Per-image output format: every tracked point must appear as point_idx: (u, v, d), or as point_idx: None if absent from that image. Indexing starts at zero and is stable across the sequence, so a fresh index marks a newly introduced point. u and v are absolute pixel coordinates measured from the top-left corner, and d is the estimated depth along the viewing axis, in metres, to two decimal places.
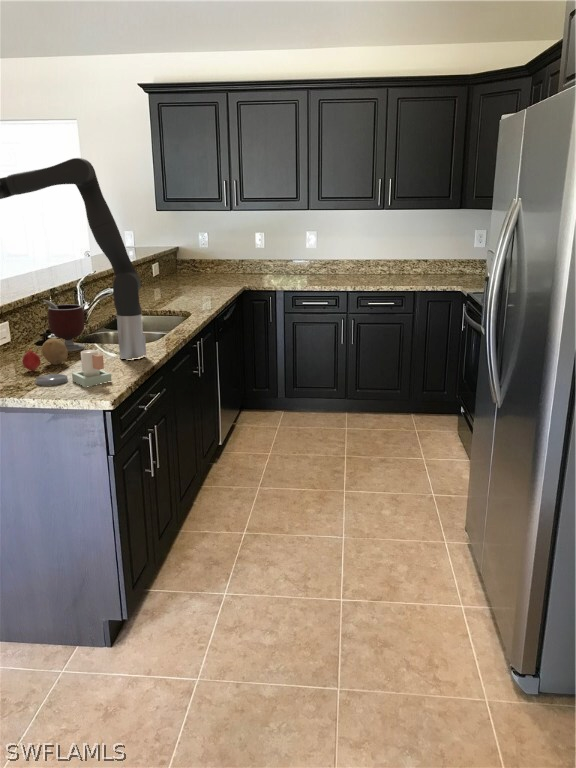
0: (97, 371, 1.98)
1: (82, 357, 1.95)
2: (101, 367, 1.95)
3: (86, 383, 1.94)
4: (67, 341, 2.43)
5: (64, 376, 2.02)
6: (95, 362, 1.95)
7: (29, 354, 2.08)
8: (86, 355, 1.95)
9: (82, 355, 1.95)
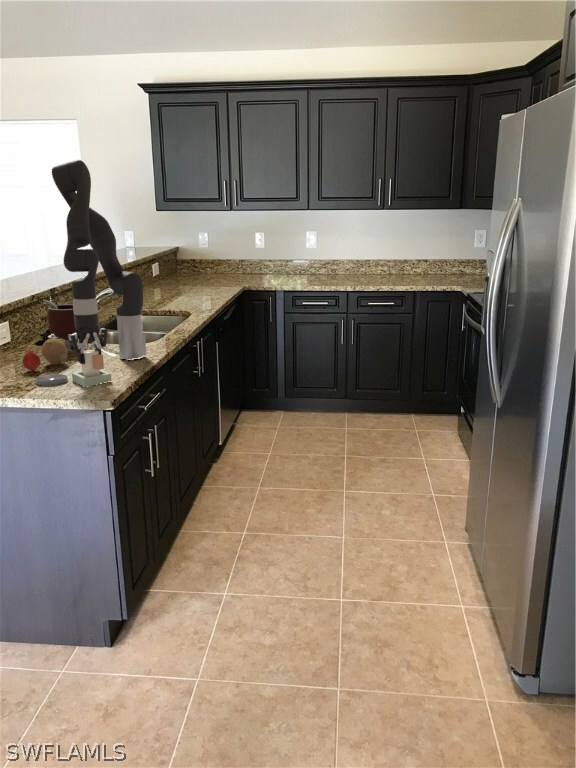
0: (97, 371, 1.98)
1: None
2: (101, 367, 1.95)
3: (86, 383, 1.94)
4: (67, 341, 2.43)
5: (64, 376, 2.02)
6: (95, 362, 1.95)
7: (29, 354, 2.08)
8: (86, 355, 1.95)
9: None
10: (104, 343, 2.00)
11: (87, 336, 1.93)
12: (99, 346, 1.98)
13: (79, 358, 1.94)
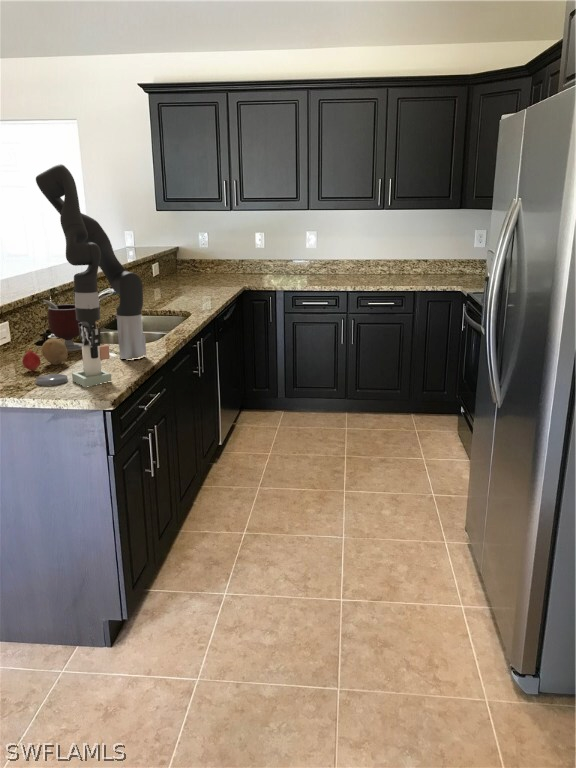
0: None
1: None
2: None
3: (86, 383, 1.94)
4: (67, 341, 2.43)
5: (64, 376, 2.02)
6: (104, 352, 1.99)
7: (29, 354, 2.08)
8: None
9: None
10: None
11: None
12: None
13: (95, 352, 1.94)
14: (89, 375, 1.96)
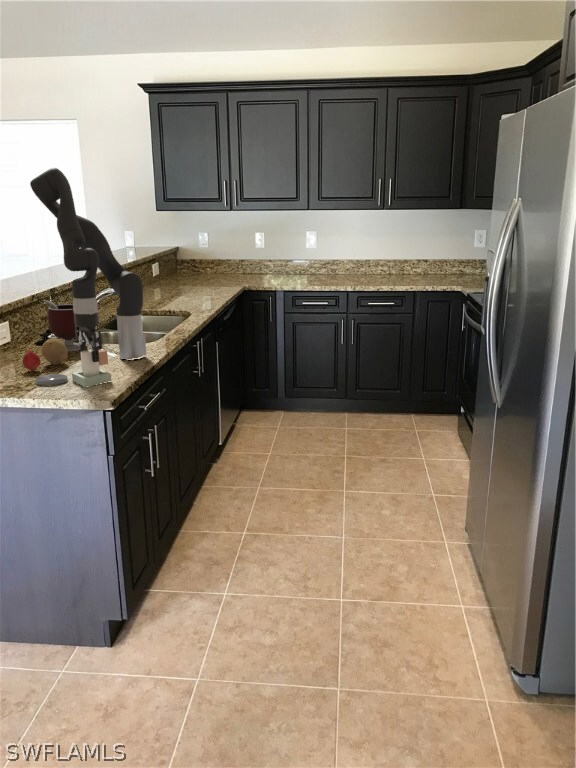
0: None
1: None
2: None
3: (86, 383, 1.94)
4: (67, 341, 2.43)
5: (64, 376, 2.02)
6: (103, 358, 2.00)
7: (29, 354, 2.08)
8: None
9: None
10: None
11: None
12: None
13: (97, 356, 1.94)
14: None
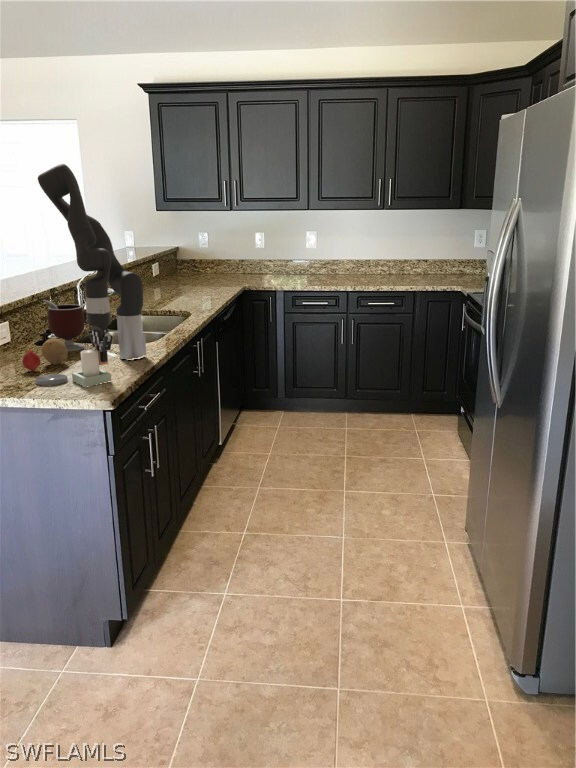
0: None
1: (93, 357, 1.96)
2: None
3: (86, 383, 1.94)
4: (67, 341, 2.43)
5: (64, 376, 2.02)
6: None
7: (29, 354, 2.08)
8: (97, 353, 1.97)
9: (93, 355, 1.95)
10: None
11: None
12: None
13: (105, 356, 1.99)
14: None
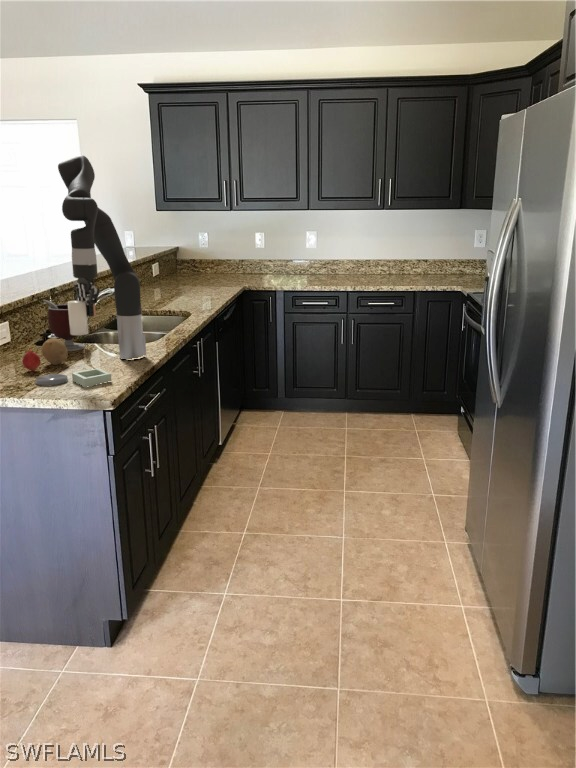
0: None
1: (80, 307, 1.91)
2: None
3: (86, 383, 1.94)
4: (67, 341, 2.43)
5: (64, 376, 2.02)
6: None
7: (29, 354, 2.08)
8: (84, 304, 1.92)
9: (80, 305, 1.91)
10: None
11: None
12: None
13: (92, 310, 1.94)
14: (76, 332, 1.92)
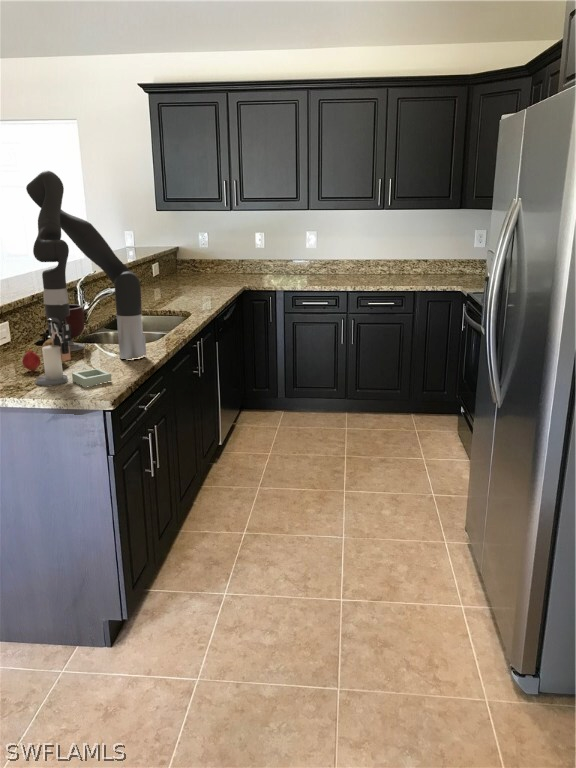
0: None
1: (54, 353, 1.96)
2: None
3: (86, 383, 1.94)
4: None
5: (64, 376, 2.02)
6: None
7: (29, 354, 2.08)
8: (58, 349, 1.97)
9: (54, 351, 1.95)
10: None
11: None
12: None
13: (66, 348, 1.97)
14: (51, 376, 1.97)
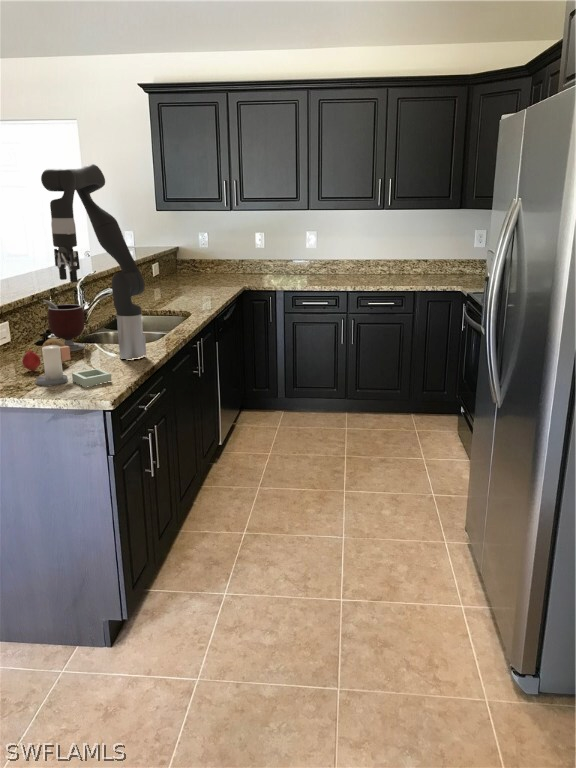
0: None
1: (54, 353, 1.96)
2: None
3: (86, 383, 1.94)
4: (67, 341, 2.43)
5: (64, 376, 2.02)
6: (65, 353, 2.00)
7: (29, 354, 2.09)
8: (58, 349, 1.97)
9: (54, 351, 1.95)
10: None
11: None
12: None
13: (75, 276, 1.99)
14: (51, 376, 1.97)
